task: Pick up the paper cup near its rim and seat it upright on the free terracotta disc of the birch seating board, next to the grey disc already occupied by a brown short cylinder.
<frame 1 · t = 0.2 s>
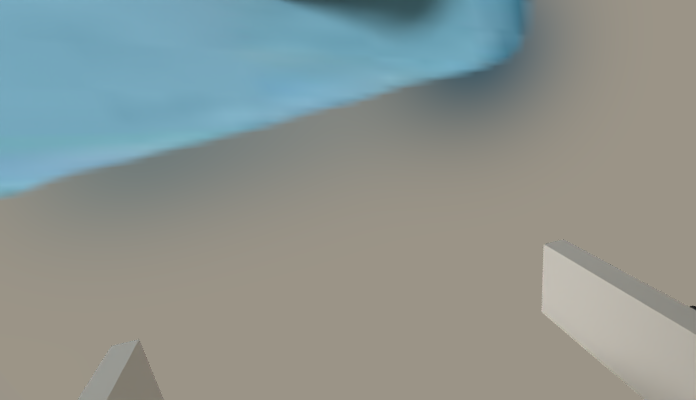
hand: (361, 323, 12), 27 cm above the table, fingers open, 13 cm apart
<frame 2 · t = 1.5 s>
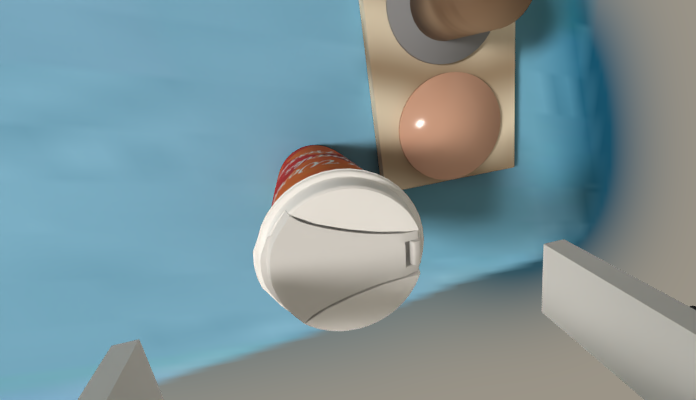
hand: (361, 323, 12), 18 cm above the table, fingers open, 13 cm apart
grey pad: (442, 2, 25), resting on seating board
terracotta pad: (448, 127, 28), resting on seating board
brown short cylinder: (445, 0, 25), point 2 cm above the table, touching grey pad
paper cup: (313, 179, 29), on the table
seating board: (438, 68, 28), on the table
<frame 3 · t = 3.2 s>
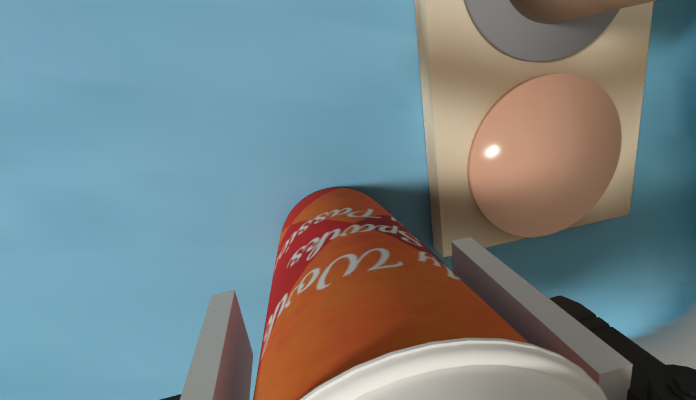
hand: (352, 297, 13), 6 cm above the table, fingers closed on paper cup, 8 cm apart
terracotta pad: (541, 158, 18), resting on seating board
paper cup: (334, 237, 19), on the table, touching gripper
seating board: (527, 68, 18), on the table
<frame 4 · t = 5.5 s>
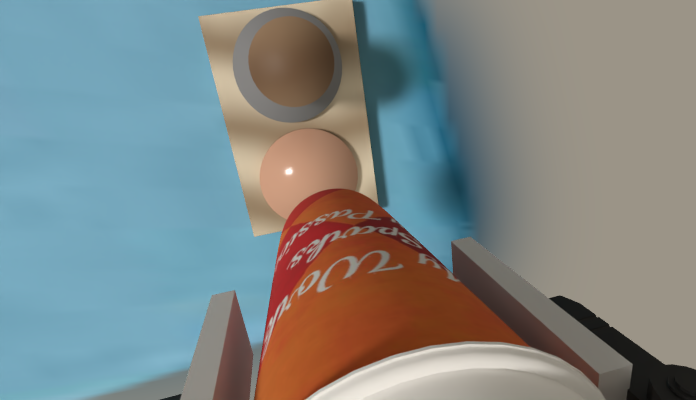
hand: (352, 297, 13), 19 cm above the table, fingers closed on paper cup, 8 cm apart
grey pad: (288, 67, 27), resting on seating board
terracotta pad: (309, 177, 30), resting on seating board
brown short cylinder: (288, 67, 27), point 2 cm above the table, touching grey pad
paper cup: (334, 238, 19), point 14 cm above the table, touching gripper
seating board: (298, 123, 30), on the table
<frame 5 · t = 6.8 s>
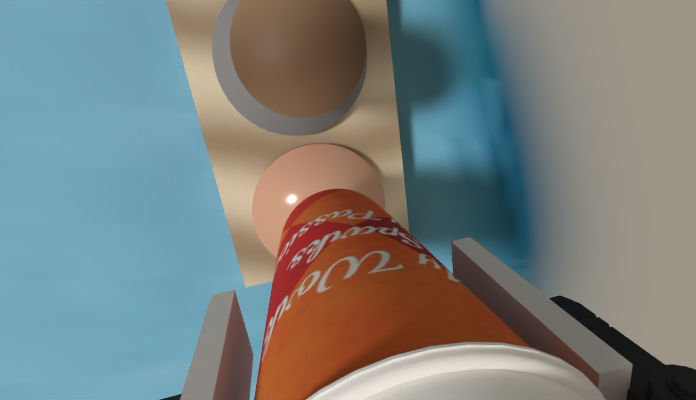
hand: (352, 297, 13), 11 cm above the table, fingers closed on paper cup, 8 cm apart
grey pad: (292, 59, 20), resting on seating board
terracotta pad: (319, 208, 22), resting on seating board
brown short cylinder: (292, 58, 19), point 2 cm above the table, touching grey pad
paper cup: (334, 238, 19), point 5 cm above the table, touching gripper
seating board: (305, 135, 22), on the table
when the fingers open (8 cm above the table, at t = 7.8 s): paper cup stays where it is, resting on terracotta pad.
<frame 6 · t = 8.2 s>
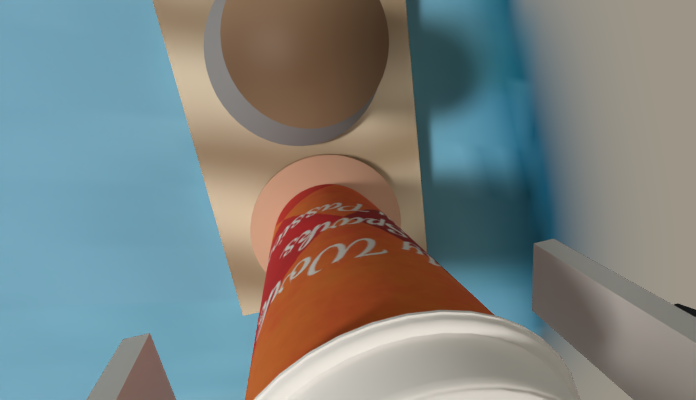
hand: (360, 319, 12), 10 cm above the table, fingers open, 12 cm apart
grey pad: (296, 58, 17), resting on seating board
terracotta pad: (327, 227, 20), resting on seating board
brown short cylinder: (297, 57, 17), point 2 cm above the table, touching grey pad
paper cup: (326, 232, 20), point 2 cm above the table, touching terracotta pad
seating board: (311, 145, 19), on the table
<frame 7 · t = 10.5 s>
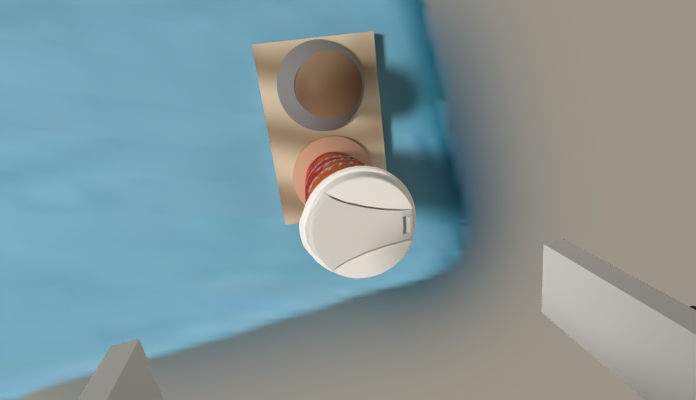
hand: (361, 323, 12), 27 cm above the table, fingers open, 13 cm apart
grey pad: (320, 86, 34), resting on seating board
terracotta pad: (333, 176, 36), resting on seating board
brown short cylinder: (321, 86, 33), point 2 cm above the table, touching grey pad
paper cup: (332, 178, 36), point 2 cm above the table, touching terracotta pad
seating board: (325, 131, 36), on the table
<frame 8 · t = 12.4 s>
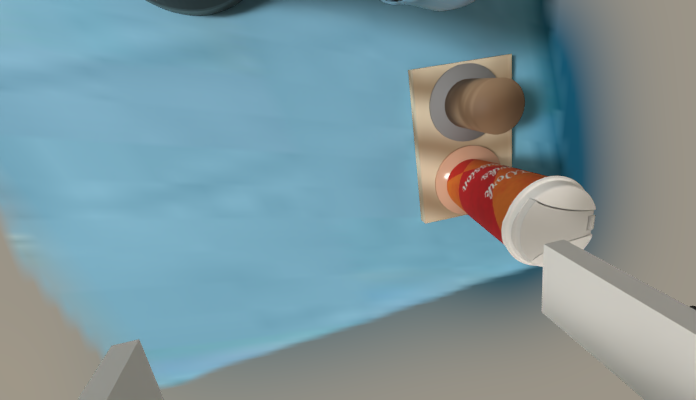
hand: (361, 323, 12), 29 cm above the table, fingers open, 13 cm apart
grey pad: (464, 103, 39), resting on seating board
terracotta pad: (467, 180, 42), resting on seating board
brown short cylinder: (466, 103, 39), point 2 cm above the table, touching grey pad
paper cup: (468, 182, 42), point 2 cm above the table, touching terracotta pad
seating board: (461, 141, 41), on the table
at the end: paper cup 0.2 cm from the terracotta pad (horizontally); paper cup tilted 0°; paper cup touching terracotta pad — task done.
